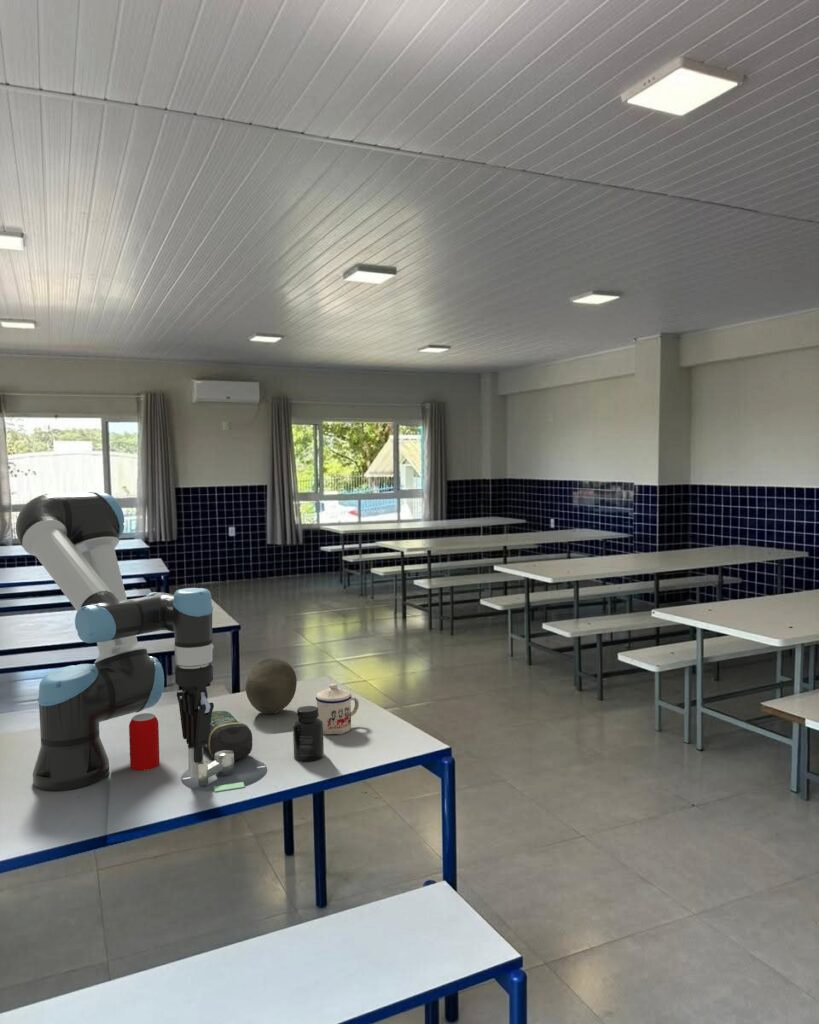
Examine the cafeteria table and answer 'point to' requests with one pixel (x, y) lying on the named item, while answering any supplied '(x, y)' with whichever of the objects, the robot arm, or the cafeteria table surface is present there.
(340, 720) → the teacup with lid
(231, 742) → the coffee jar
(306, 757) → the supplement bottle
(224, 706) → the cafeteria table surface
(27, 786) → the cafeteria table surface
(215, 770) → the pointer
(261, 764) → the dial plate
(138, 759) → the beverage can
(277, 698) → the cantaloupe
